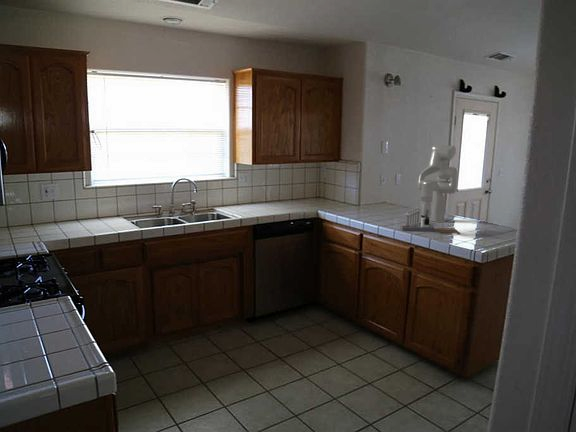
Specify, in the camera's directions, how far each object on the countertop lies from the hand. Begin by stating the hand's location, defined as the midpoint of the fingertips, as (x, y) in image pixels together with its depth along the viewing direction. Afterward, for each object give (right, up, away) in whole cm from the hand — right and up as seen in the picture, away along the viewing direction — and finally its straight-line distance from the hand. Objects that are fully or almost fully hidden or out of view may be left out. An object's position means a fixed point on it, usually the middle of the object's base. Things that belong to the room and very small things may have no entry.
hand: (424, 223), depth 309 cm
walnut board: (+16, -6, 0) cm, 17 cm away
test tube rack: (-4, -3, +17) cm, 18 cm away
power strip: (-5, -6, +2) cm, 8 cm away
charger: (0, -5, +1) cm, 5 cm away
